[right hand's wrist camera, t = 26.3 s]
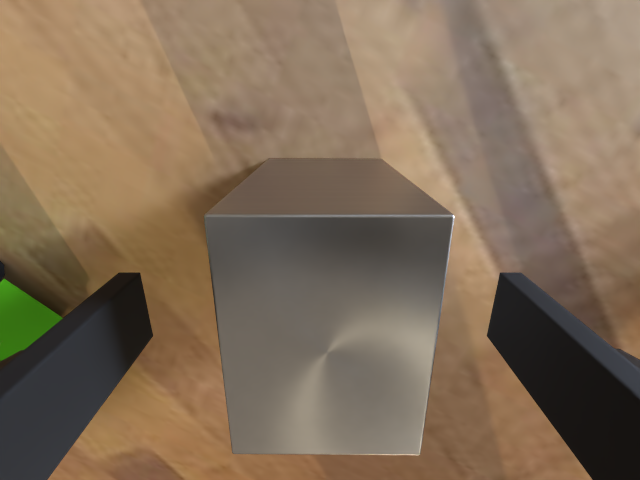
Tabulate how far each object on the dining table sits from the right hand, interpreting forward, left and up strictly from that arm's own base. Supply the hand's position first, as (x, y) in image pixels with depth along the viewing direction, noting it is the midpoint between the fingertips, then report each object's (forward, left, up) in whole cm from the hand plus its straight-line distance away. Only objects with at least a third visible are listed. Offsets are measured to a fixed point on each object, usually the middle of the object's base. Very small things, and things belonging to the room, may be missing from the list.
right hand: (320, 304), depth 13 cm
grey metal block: (0, 0, -9) cm, 9 cm away
